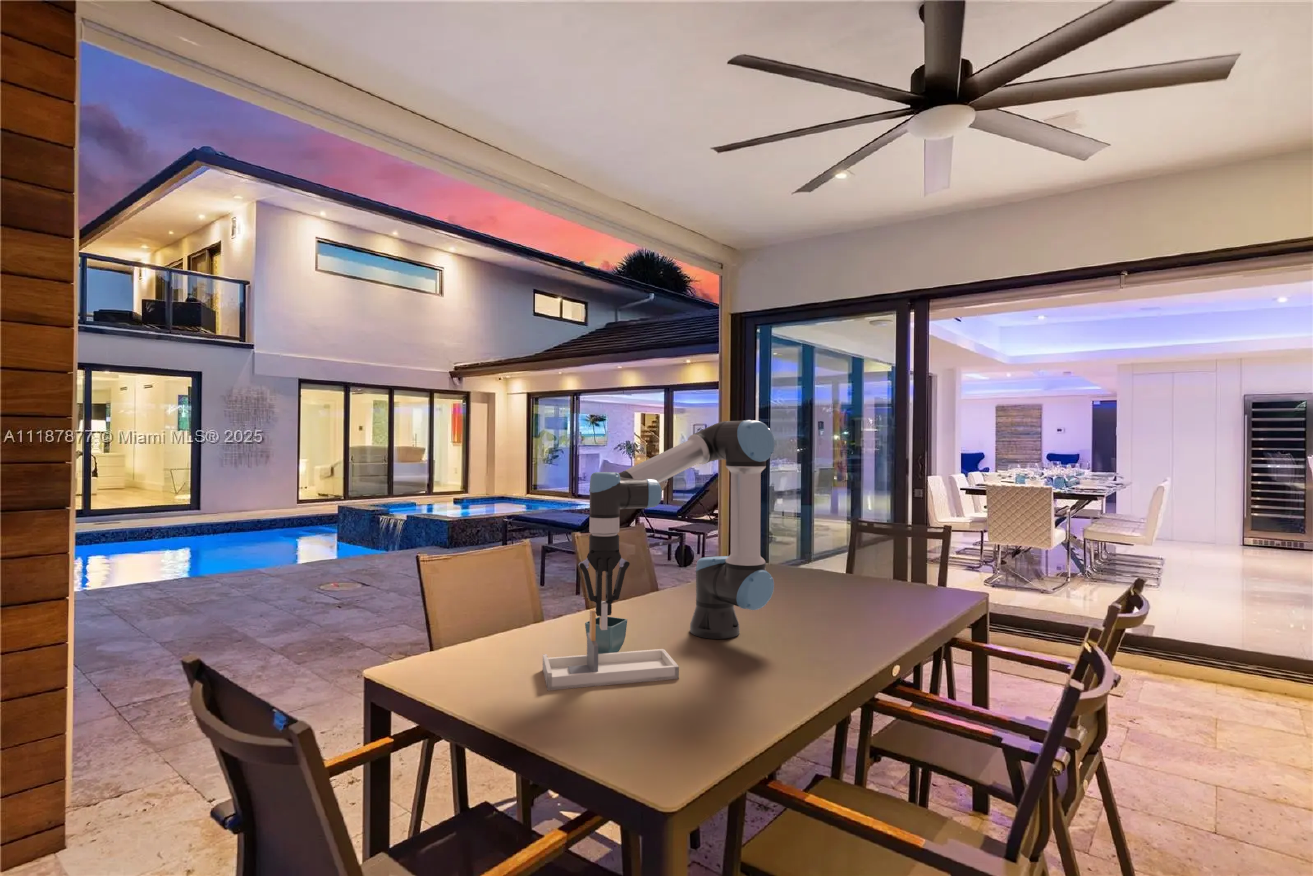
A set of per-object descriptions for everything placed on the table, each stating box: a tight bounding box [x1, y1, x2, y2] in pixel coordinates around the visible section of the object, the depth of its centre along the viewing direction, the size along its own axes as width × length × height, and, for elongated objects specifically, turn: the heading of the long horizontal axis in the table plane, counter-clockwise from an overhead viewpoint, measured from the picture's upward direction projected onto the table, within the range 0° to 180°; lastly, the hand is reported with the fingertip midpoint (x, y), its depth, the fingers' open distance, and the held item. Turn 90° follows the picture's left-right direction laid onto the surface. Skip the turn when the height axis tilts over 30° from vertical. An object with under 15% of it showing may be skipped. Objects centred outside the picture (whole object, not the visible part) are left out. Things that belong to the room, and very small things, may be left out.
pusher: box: [568, 608, 598, 674], centre depth 160 cm, size 6×11×15 cm, turn 15°
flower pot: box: [584, 615, 628, 654], centre depth 178 cm, size 9×9×9 cm
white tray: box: [542, 648, 680, 691], centre depth 161 cm, size 32×14×4 cm, turn 105°
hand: (603, 628), depth 161 cm, fingers closed
